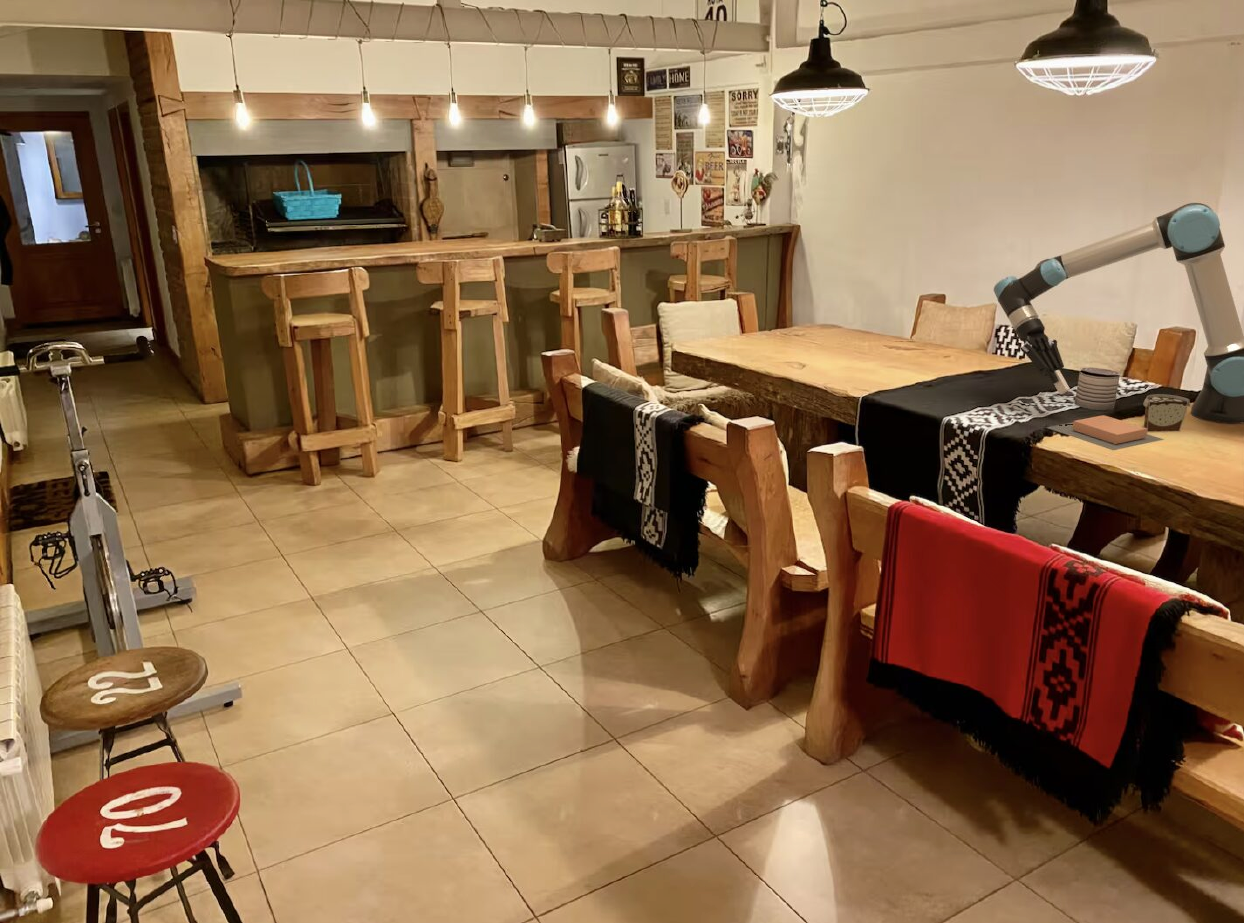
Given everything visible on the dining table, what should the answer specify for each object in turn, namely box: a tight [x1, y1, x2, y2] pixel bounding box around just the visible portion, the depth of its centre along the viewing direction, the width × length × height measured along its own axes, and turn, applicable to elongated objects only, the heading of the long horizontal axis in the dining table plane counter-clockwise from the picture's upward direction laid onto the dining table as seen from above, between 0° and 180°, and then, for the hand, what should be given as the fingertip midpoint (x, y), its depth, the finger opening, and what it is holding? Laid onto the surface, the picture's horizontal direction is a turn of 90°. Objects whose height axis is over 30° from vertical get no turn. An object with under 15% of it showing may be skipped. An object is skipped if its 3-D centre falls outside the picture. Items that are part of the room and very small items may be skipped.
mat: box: [1045, 421, 1165, 451], centre depth 260 cm, size 20×22×1 cm
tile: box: [1072, 414, 1149, 444], centre depth 258 cm, size 12×3×14 cm
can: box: [1074, 366, 1122, 411], centre depth 285 cm, size 11×11×12 cm
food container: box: [1142, 393, 1191, 432], centre depth 263 cm, size 12×6×10 cm, turn 92°
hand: (1064, 391), depth 270 cm, fingers closed
